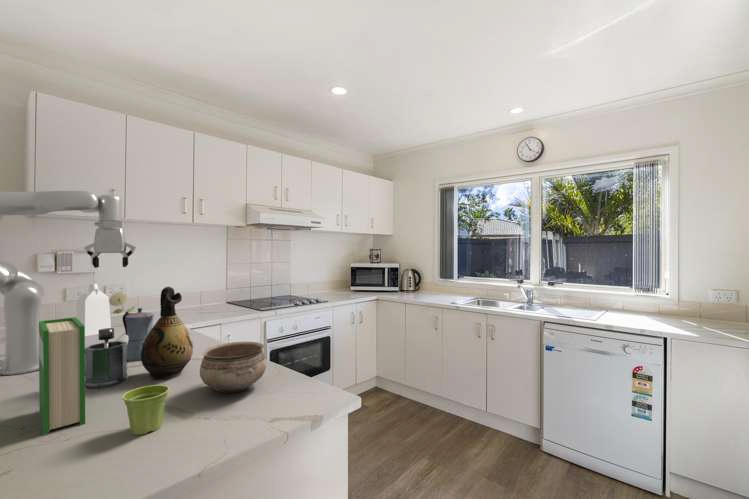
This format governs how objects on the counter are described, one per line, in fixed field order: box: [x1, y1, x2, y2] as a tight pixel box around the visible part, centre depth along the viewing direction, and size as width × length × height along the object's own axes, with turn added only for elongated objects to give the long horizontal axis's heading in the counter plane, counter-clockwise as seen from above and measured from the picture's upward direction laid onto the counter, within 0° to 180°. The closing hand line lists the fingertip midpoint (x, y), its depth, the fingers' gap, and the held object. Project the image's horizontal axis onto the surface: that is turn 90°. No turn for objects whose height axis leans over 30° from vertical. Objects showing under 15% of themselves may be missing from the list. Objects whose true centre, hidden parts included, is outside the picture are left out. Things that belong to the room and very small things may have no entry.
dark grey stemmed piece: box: [98, 327, 115, 348], centre depth 114 cm, size 7×7×14 cm
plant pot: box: [121, 384, 170, 435], centre depth 83 cm, size 9×9×9 cm
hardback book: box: [38, 316, 86, 436], centre depth 89 cm, size 18×7×24 cm, turn 46°
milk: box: [76, 283, 112, 337], centre depth 186 cm, size 12×12×26 cm
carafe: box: [85, 340, 128, 390], centre depth 113 cm, size 14×11×12 cm
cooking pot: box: [199, 341, 268, 394], centre depth 107 cm, size 25×19×12 cm
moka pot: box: [122, 307, 155, 362], centre depth 140 cm, size 10×15×20 cm, turn 78°
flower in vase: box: [109, 290, 135, 344], centre depth 160 cm, size 13×11×25 cm
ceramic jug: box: [140, 286, 194, 381], centre depth 121 cm, size 17×15×30 cm
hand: (110, 267), depth 143 cm, fingers open, 9 cm apart
